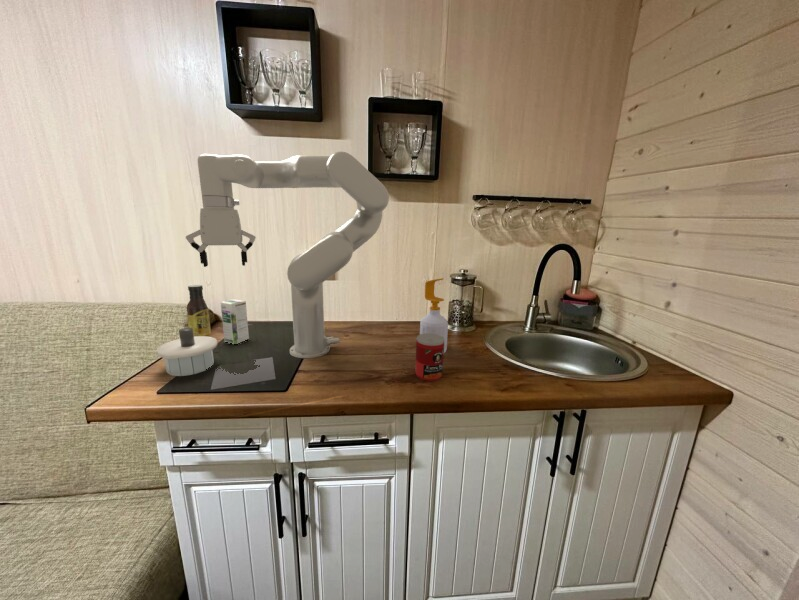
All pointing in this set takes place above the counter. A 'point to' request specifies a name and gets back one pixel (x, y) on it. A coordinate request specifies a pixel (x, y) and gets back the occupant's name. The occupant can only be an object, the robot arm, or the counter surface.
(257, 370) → the mat
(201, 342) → the lid
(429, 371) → the canned food
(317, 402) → the counter surface
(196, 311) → the sauce bottle
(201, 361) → the bowl
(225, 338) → the syrup box
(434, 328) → the soap bottle
